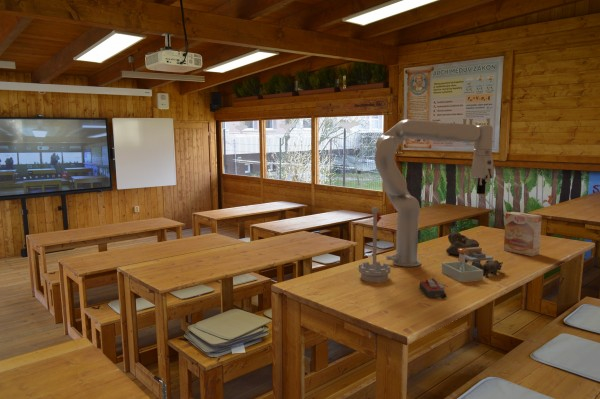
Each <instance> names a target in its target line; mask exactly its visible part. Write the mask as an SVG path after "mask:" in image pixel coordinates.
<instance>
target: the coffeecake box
mask: <svg viewBox="0 0 600 399" xmlns="http://www.w3.org/2000/svg"><path fill="white" fill-rule="evenodd" d="M504 220H505V221H504V237H503V239H504V241H503V251H504V252H511V253H514V254H518V255H519V254H520V255H526V256H530V257H534V256H537V255H540V246H541V245H540V244H541V231H542V220H543V218H542V215H540V214H532V213H525V212H517V211H510V212H509V211H507V212H505V219H504Z"/></svg>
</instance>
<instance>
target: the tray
mask: <svg viewBox="0 0 600 399" xmlns="http://www.w3.org/2000/svg"><path fill="white" fill-rule="evenodd" d="M441 273H442V274H444V275H446V276H447V277H449V278H452V279H454V280H456V281H457V282H459V283H465V282H468V281H469V282H475V281H476V282H477V281H483V279H484V276H483V274H484V270H483V269H482V268H481V269H479V268H477V267H475V266H472V264H470V263H468V262H467V263H466V262H465V272H461V271H459V261H450V262H441Z"/></svg>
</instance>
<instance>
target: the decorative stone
mask: <svg viewBox="0 0 600 399" xmlns="http://www.w3.org/2000/svg"><path fill="white" fill-rule="evenodd" d="M447 238H448V241H449V243H450V246H448V248H446V250H445V252H446V254H448V255H453V256H457V255H459V252H458V248H472V247H480V243H479V242H478V240H476V239H474V238H469V237H467V236H466V235H464V234H461V233H460V232H459V231H454V232H451V233H449V234H448V235H447Z"/></svg>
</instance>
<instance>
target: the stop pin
mask: <svg viewBox="0 0 600 399" xmlns="http://www.w3.org/2000/svg"><path fill="white" fill-rule="evenodd" d="M458 252H459V256H458V259H459V261H458V262H459V271H461V272H465V253H466V252H467V249H465V248H458Z"/></svg>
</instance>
